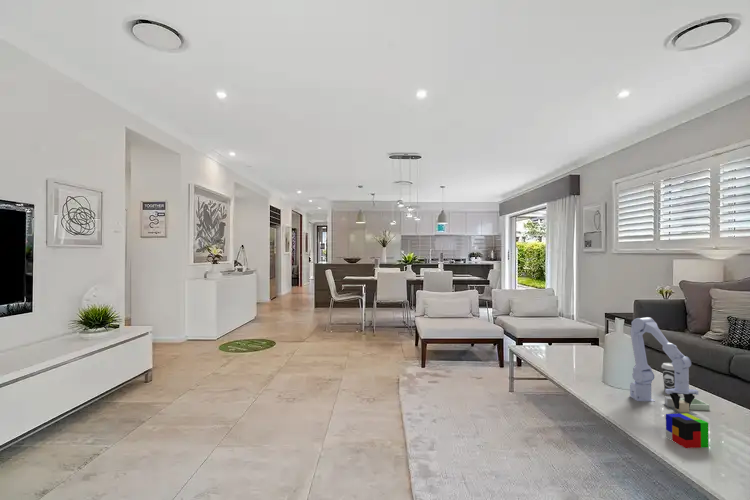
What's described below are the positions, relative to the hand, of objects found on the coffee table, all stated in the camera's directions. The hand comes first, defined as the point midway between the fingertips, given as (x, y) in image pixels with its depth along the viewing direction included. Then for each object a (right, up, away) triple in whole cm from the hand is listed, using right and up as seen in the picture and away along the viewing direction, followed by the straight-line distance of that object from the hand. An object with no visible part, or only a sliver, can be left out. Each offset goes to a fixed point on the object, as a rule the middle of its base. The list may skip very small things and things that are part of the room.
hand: (681, 408), depth 205 cm
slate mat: (0, -2, +2) cm, 3 cm away
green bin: (+11, -2, +6) cm, 12 cm away
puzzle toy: (-23, -2, -33) cm, 40 cm away
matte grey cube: (0, -1, +7) cm, 7 cm away
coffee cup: (+18, -2, +32) cm, 36 cm away
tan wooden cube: (0, -1, 0) cm, 1 cm away
